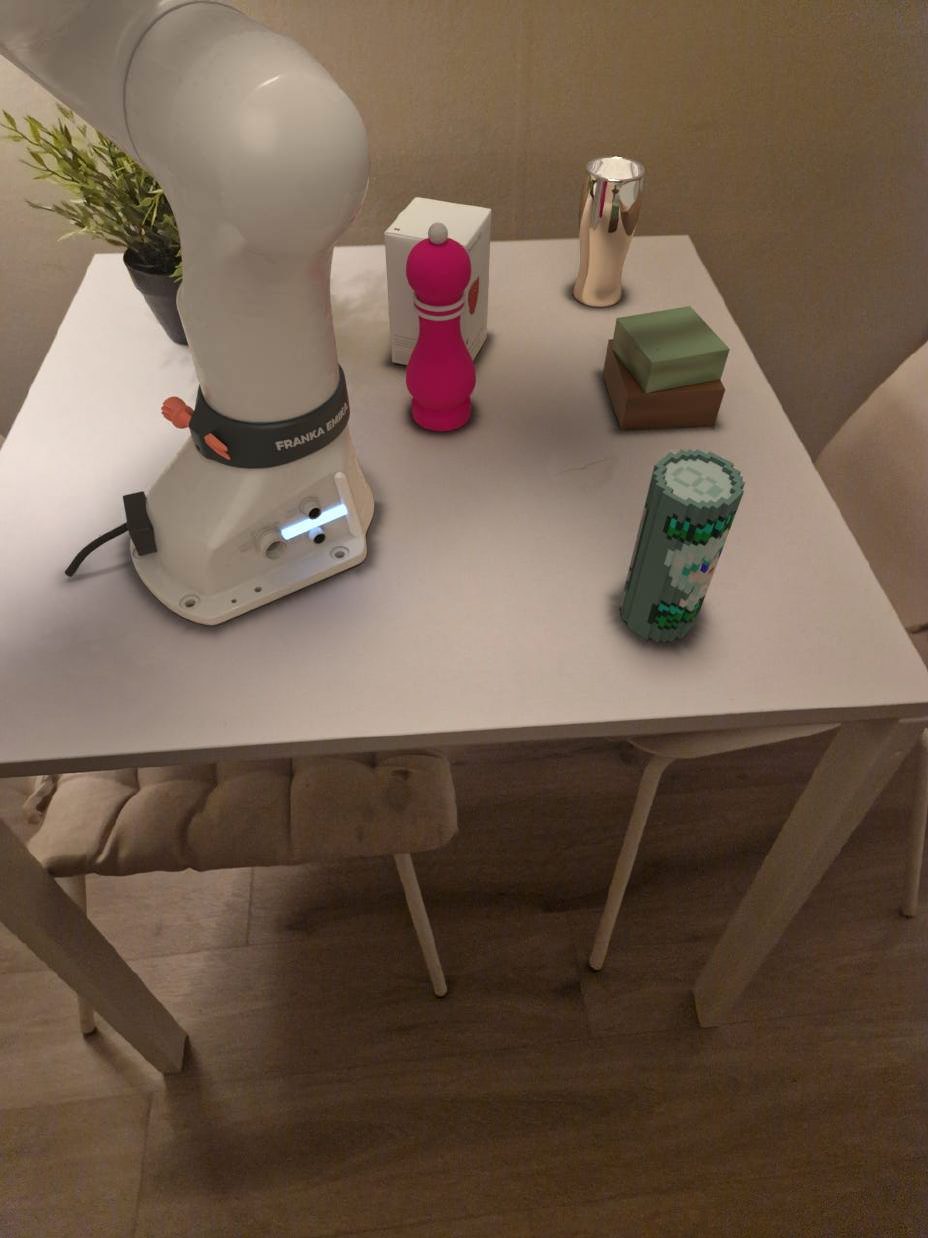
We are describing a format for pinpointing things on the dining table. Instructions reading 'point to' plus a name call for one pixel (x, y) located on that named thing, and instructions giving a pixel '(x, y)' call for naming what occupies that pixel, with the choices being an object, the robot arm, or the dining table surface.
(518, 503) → the dining table surface
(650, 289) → the dining table surface
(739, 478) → the can
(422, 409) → the pepper mill
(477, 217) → the white product box
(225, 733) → the dining table surface
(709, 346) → the block stack
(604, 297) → the beer glass
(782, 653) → the dining table surface
